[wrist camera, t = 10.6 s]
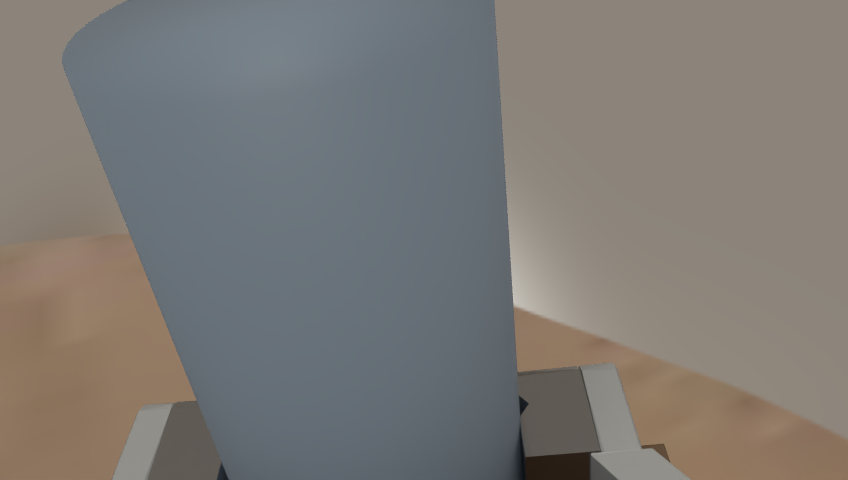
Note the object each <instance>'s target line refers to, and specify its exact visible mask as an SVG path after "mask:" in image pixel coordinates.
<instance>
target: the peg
mask: <svg viewBox="0 0 848 480" xmlns="http://www.w3.org/2000/svg"><path fill="white" fill-rule="evenodd" d="M62 64H63V67H64V71H65V73H66V76H67V78H68V81H69V83H70V85H71V88H72V90H73V93H74V96H75V98H76V101H77V103H78V105H79V108H80V110H81V113H82V116H83V118H84V121H85V123H86V125H87V128H88V130H89V133H90V135H91V138H92V140H93V143H94V145H95V148H96V150H97V153H98V155H99V158H100V160H101V163H102V165H103V168H104V170H105V173H106V175H107V177H108V180H109V183H110V185H111V188H112V190H113V193H114V195H115V198H116V200H117V203H118V205H119V207H120V210H121V213H122V215H123V218H124V220H125V222H126V225H127V228H128V230H129V233H130V235H131V238H132V240H133V243H134V245H135V248H136V250H137V253H138V255H139V258H140V260H141V263H142V265H143V267H144V270H145V272H146V275H147V277H148V280H149V282H150V285H151V287H152V290H153V292H154V295H155V297H156V300H157V302H158V305H159V307H160V310H161V312H162V315H163V317H164V320H165V322H166V325H167V327H168V330H169V332H170V335H171V337H172V340H173V342H174V345H175V347H176V350H177V352H178V355H179V357H180V360H181V362H182V365H183V367H184V370H185V372H186V375H187V377H188V380H189V382H190V385H191V387H192V390H193V392H194V395H195V397H196V400H197V402H198V404H199V407H200V409H201V412H202V414H203V417H204V419H205V422H206V424H207V427H208V429H209V432H210V434H211V437H212V439H213V442H214V444H215V447H216V449H217V452H218V454H219V457H220V459H221V462H222V464H223V467H224V469H225V472H226V474H227V477H228V479H229V480H523V473H524V471H523V461H522V451H521V433H520V407H519V391H518V375H517V359H516V343H515V326H514V310H513V296H512V295H513V294H512V279H511V262H510V248H509V247H510V246H509V230H508V214H507V198H506V182H505V166H504V151H503V133H502V118H501V102H500V86H499V70H498V53H497V37H496V21H495V5H494V0H128V1H125V2H123V3H122V4H119V5H117V6H115V7H114V8H112V9H110V10H108V11H106V12H105V13H103V14H101V15H99V16H98V17H97V18H95V19H94V20H92V21H91V22H89V23H88V24H86V25H85V26H84V27H83V28H82V29H81V30H80V31H78V32H77V33H76V34H75V35H74V36H73V38H72V39H71V40H70V41H69V42H68V44H67V46H66V48H65V50H64V52H63V57H62Z"/></svg>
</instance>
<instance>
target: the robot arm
mask: <svg viewBox="0 0 848 480" xmlns="http://www.w3.org/2000/svg"><path fill="white" fill-rule="evenodd" d="M517 375H518V391H519V407H520V433H521V451H522V461H523V471H524V473H523V480H691V479H690V478H688V477H687V476H686V475H685V474H683V473H682V472H681V471H680V470H679V469H677V468H676V467H675V466H674V465H672V464H671V463H670V462H669V461H668V460H666V459H665V458H664V457H663V456H661V455H660V454H659V453H658V452H656V451H655V450H654V449H653V448H650V449H642V447H641V444H640V440H639V437H638V434H637V431H636V428H635V424H634V421H633V418H632V415H631V412H630V408H629V405H628V402H627V399H626V396H625V392H624V389H623V386H622V383H621V380H620V376H619V373H618V370H617V367H616V366H615V365H614V364H613V363H603V364H593V365H583V366H579V367H577V366H573V367H563V368H553V369H544V370H534V371H524V372H517ZM111 480H229V479H228V477H227V474H226V472H225V469H224V467H223V464H222V462H221V459H220V457H219V454H218V452H217V449H216V447H215V444H214V442H213V439H212V437H211V434H210V432H209V429H208V427H207V424H206V422H205V419H204V417H203V414H202V412H201V409H200V407H199V404H198V402H197V401H185V402H177V403H164V404H149V405H144V406H143V407H142V408H141V410H140V411H139V412H138V413H137V415H136V418H135V420H134V423H133V425H132V428H131V431H130V433H129V436H128V438H127V441H126V443H125V446H124V448H123V451H122V454H121V456H120V459H119V461H118V464H117V466H116V469H115V471H114V474H113V477H112V479H111Z"/></svg>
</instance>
